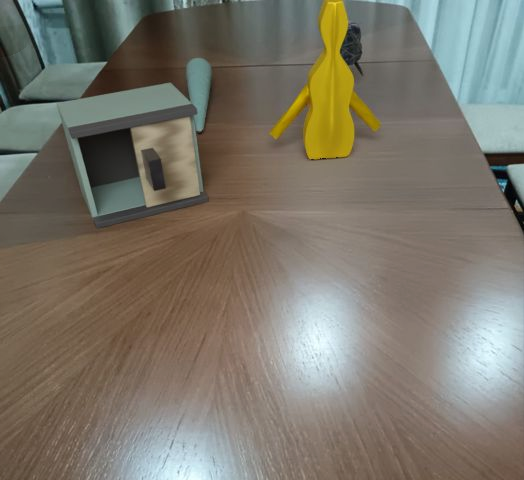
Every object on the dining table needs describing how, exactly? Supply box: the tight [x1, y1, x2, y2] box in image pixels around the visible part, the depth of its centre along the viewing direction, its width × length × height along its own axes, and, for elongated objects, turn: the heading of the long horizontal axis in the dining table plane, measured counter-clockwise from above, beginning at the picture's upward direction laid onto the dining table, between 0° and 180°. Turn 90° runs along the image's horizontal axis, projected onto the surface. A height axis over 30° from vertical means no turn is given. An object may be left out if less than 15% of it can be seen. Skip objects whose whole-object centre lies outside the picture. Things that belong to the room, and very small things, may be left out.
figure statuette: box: [268, 0, 382, 160], centre depth 84 cm, size 18×8×22 cm, turn 95°
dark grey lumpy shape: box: [340, 20, 365, 77], centre depth 108 cm, size 8×11×20 cm
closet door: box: [130, 116, 200, 207], centre depth 75 cm, size 8×5×11 cm, turn 113°
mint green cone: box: [185, 57, 213, 132], centre depth 108 cm, size 5×6×27 cm
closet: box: [56, 82, 209, 229], centre depth 79 cm, size 16×12×13 cm
